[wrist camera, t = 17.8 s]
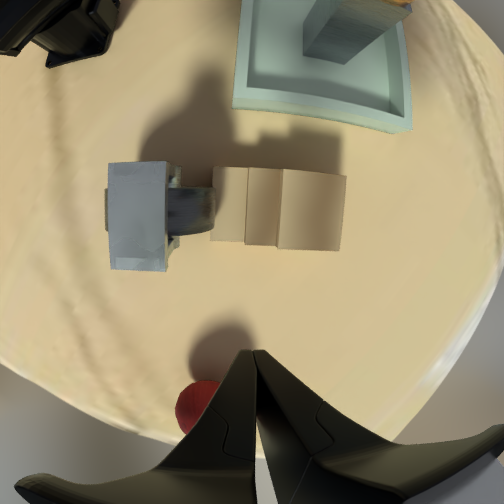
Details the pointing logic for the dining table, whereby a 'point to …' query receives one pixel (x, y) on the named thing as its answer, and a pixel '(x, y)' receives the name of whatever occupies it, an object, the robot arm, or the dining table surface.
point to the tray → (318, 71)
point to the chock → (279, 208)
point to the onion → (194, 403)
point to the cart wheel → (152, 213)
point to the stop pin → (348, 26)
